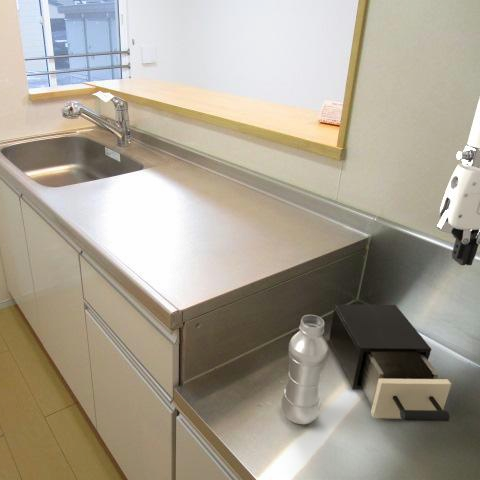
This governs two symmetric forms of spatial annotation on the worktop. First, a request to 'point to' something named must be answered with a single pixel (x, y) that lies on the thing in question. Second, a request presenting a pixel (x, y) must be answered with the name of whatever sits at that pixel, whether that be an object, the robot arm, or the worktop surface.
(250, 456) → the worktop surface
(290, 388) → the plastic bottle
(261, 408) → the worktop surface
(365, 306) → the black rectangular box
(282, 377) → the worktop surface
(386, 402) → the beige drawer
